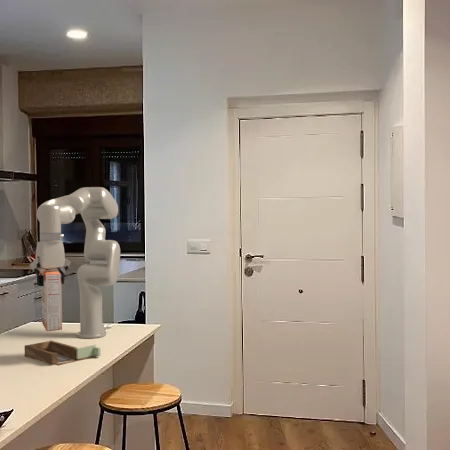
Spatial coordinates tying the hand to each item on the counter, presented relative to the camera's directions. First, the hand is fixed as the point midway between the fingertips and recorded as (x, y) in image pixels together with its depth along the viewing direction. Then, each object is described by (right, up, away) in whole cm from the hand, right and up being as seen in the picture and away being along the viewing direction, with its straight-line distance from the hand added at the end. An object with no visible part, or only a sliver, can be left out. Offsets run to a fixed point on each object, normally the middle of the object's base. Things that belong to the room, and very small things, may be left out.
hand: (51, 284), depth 213 cm
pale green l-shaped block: (+14, -27, -1) cm, 30 cm away
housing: (+3, -27, +2) cm, 28 cm away
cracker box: (0, -16, 0) cm, 16 cm away
